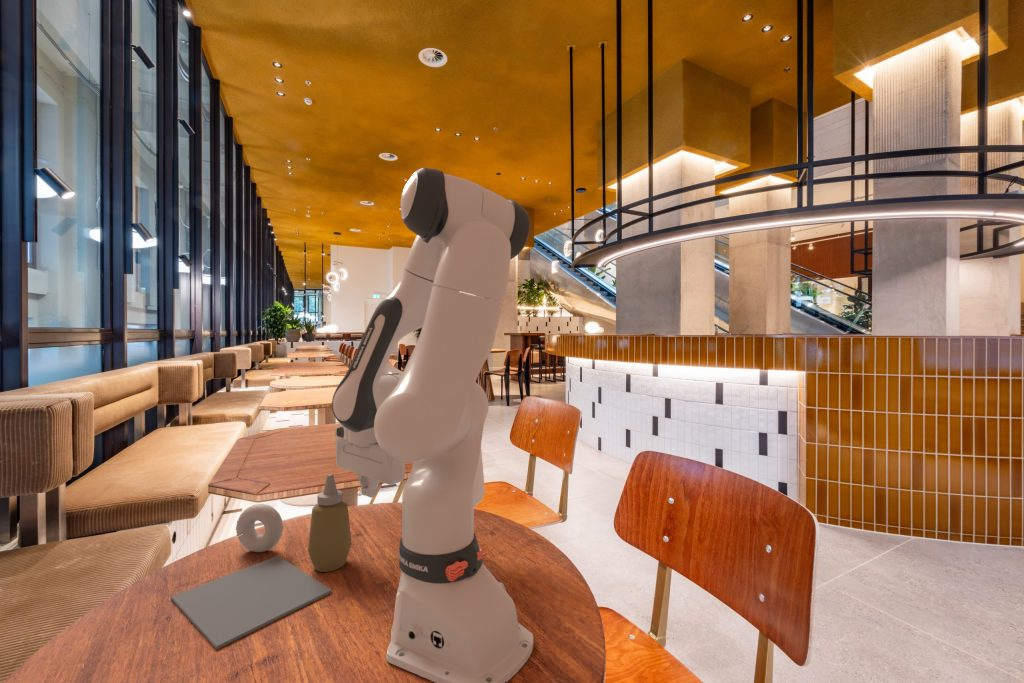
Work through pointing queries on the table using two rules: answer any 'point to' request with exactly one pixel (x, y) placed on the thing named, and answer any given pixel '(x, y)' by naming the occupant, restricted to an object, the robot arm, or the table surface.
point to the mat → (248, 599)
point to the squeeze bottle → (329, 529)
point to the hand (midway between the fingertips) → (368, 495)
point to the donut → (250, 536)
